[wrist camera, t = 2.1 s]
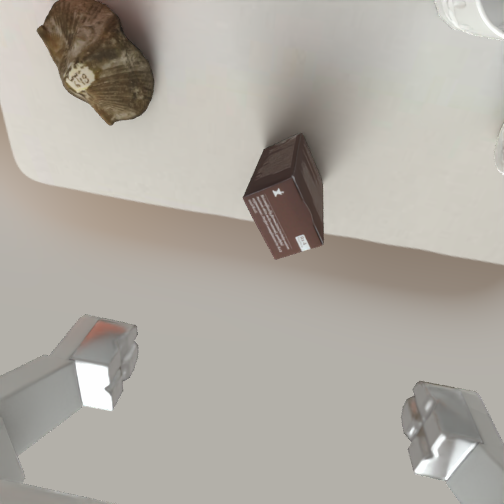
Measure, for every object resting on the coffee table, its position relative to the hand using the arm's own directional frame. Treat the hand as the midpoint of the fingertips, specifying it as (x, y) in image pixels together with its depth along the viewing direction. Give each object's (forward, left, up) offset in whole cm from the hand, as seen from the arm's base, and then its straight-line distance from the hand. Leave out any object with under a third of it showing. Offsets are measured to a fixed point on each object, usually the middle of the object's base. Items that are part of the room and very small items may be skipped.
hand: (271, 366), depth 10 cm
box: (0, +3, -29) cm, 29 cm away
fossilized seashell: (+18, -5, -29) cm, 34 cm away
